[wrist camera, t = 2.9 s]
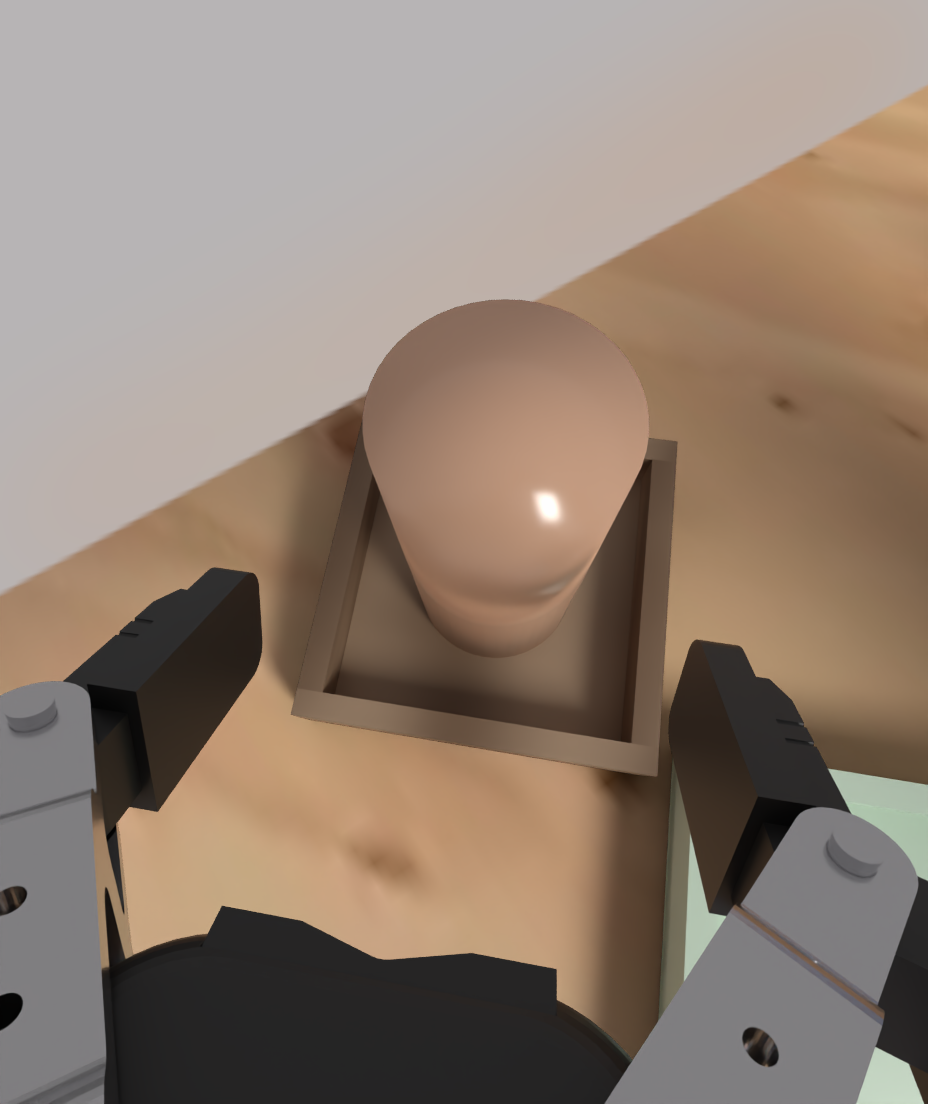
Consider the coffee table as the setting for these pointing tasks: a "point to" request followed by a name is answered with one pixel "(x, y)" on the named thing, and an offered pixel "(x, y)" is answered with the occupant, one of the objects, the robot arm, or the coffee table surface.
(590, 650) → the walnut tray
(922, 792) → the green tray
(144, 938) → the coffee table surface
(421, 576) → the pink rounded cylinder
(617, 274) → the coffee table surface
